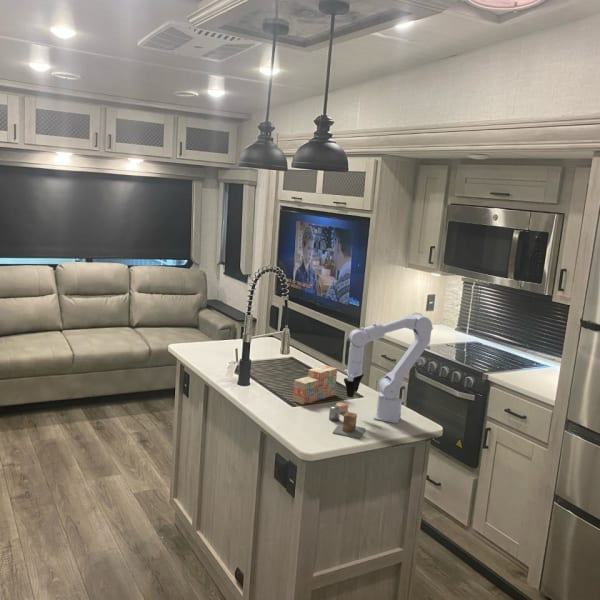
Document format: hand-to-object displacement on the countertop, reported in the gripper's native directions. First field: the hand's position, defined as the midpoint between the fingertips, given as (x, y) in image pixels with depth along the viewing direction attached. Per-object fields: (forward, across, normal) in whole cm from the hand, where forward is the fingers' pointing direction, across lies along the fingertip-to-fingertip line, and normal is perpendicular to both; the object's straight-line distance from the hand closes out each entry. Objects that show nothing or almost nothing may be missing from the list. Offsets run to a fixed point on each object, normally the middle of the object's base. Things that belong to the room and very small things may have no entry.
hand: (352, 394), depth 235 cm
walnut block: (+9, +15, +3) cm, 18 cm away
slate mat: (+9, +15, +3) cm, 18 cm away
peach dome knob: (+10, -4, -4) cm, 12 cm away
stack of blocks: (+10, -15, -19) cm, 26 cm away
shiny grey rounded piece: (+10, +6, -5) cm, 12 cm away
